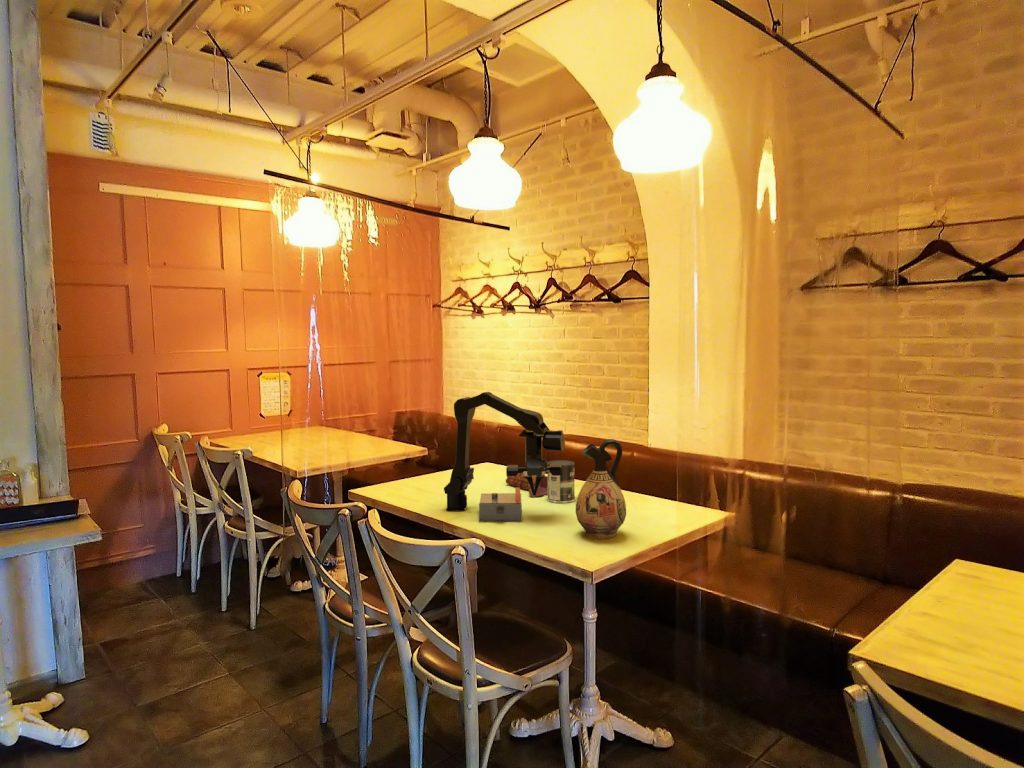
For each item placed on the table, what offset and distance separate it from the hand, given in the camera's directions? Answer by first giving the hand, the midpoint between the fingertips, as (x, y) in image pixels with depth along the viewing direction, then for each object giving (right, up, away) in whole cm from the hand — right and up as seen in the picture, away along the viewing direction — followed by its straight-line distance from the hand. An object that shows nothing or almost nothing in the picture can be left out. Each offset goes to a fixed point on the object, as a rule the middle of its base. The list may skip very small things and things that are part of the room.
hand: (534, 495), depth 218 cm
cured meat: (+1, -5, +38) cm, 38 cm away
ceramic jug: (+21, -9, -20) cm, 30 cm away
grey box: (-11, -7, +1) cm, 13 cm away
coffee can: (+11, -6, +22) cm, 25 cm away
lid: (-11, -2, 0) cm, 12 cm away
